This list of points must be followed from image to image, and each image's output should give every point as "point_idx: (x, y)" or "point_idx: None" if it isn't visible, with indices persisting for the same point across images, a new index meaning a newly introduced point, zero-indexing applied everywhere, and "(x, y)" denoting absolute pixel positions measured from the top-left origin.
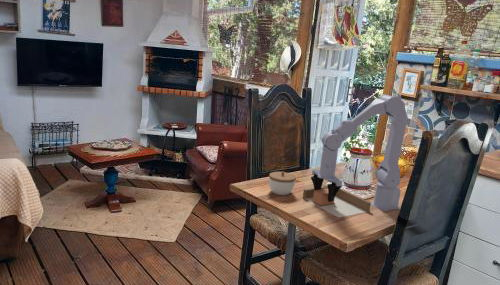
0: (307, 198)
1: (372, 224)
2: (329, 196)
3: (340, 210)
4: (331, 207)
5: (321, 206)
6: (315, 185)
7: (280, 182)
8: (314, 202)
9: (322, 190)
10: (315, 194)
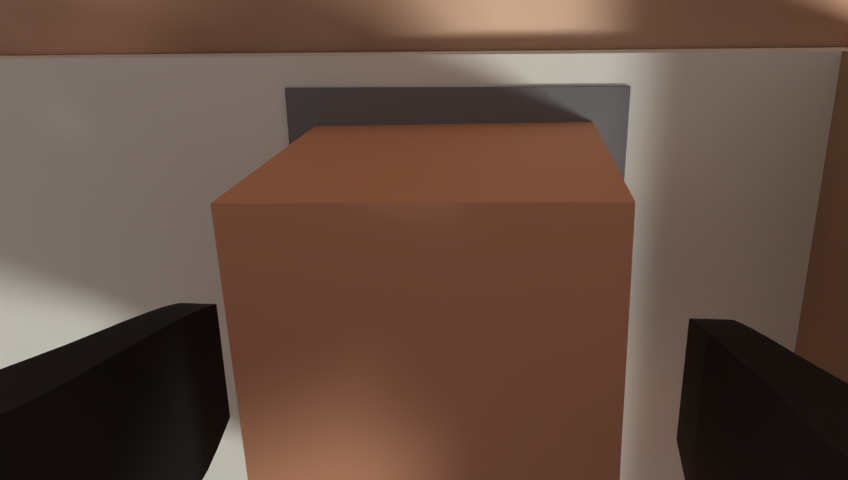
0: (816, 137)
1: None
2: (81, 344)
3: (22, 346)
4: (185, 291)
5: (282, 122)
6: (812, 437)
7: None
8: (522, 119)
9: (520, 474)
10: (532, 174)
